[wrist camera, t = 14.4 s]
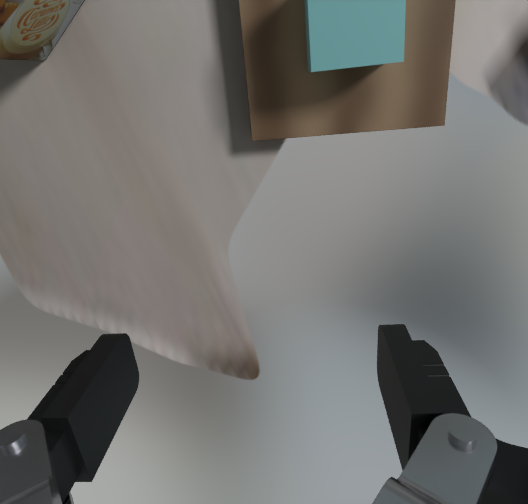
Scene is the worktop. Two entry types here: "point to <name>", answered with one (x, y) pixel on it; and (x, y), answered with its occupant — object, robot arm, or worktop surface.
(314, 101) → the walnut stand
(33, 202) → the worktop surface
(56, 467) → the robot arm
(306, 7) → the teal cube
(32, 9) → the coffee box
